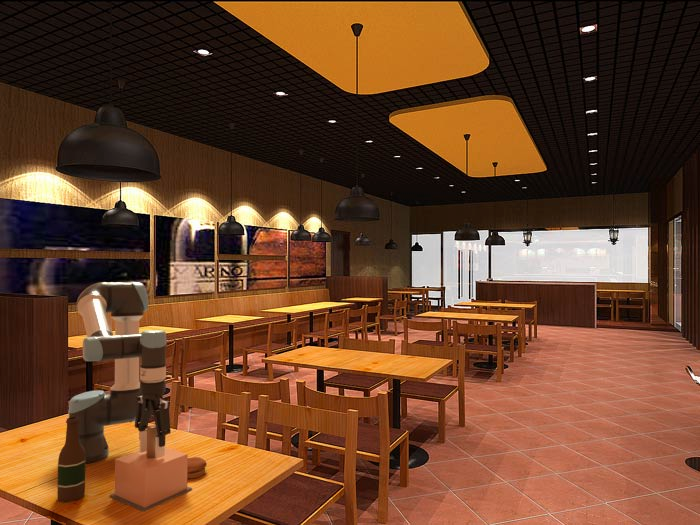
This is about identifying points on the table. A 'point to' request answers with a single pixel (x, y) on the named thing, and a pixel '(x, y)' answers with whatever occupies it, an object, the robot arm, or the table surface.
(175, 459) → the pink box with peg
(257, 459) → the table surface
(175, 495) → the mat
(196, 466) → the burger
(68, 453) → the beer bottle
